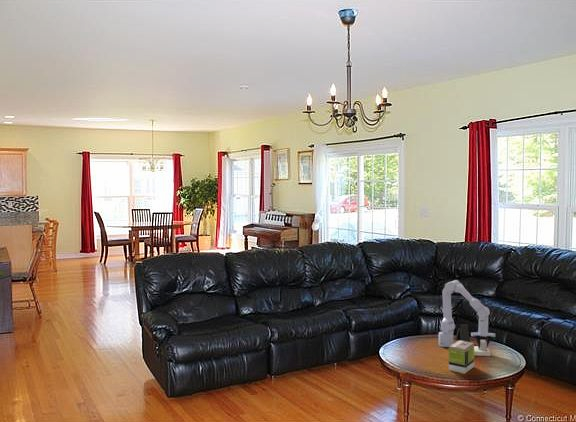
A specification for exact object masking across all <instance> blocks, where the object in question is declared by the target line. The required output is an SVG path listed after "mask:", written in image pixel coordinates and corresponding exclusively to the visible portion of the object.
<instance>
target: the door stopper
mask: <svg viewBox="0 0 576 422" xmlns="http://www.w3.org/2000/svg"><path fill="white" fill-rule="evenodd" d="M458 340H460V341H466V342H471V339H470V333H469V325H468V324H467V323H461V324H457V332H456V335H455V342H456V341H458Z"/></svg>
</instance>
